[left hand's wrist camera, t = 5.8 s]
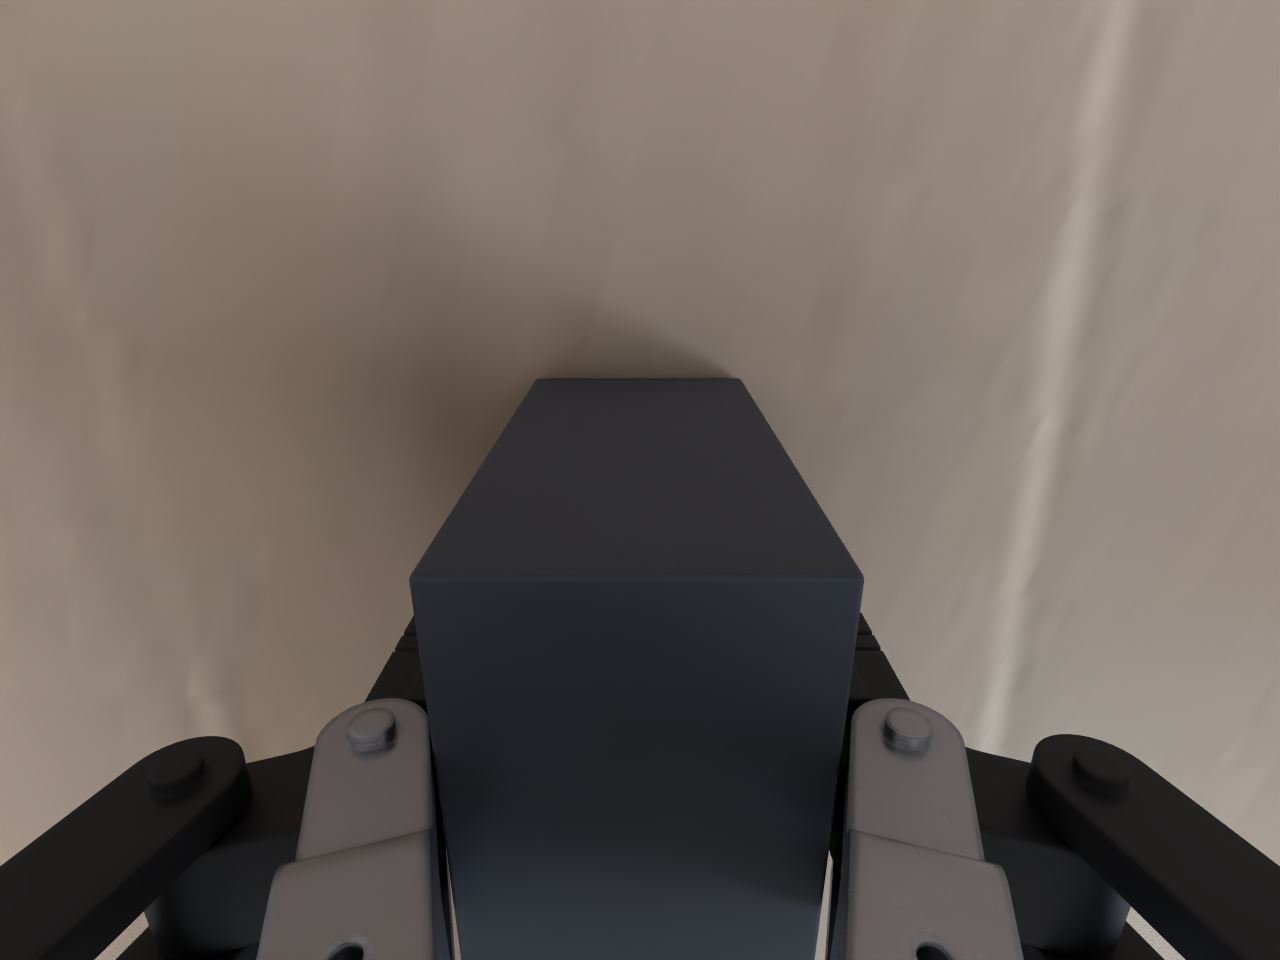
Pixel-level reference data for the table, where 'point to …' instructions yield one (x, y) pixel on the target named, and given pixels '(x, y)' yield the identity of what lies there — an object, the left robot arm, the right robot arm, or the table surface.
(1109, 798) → the left robot arm
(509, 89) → the table surface
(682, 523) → the bar
